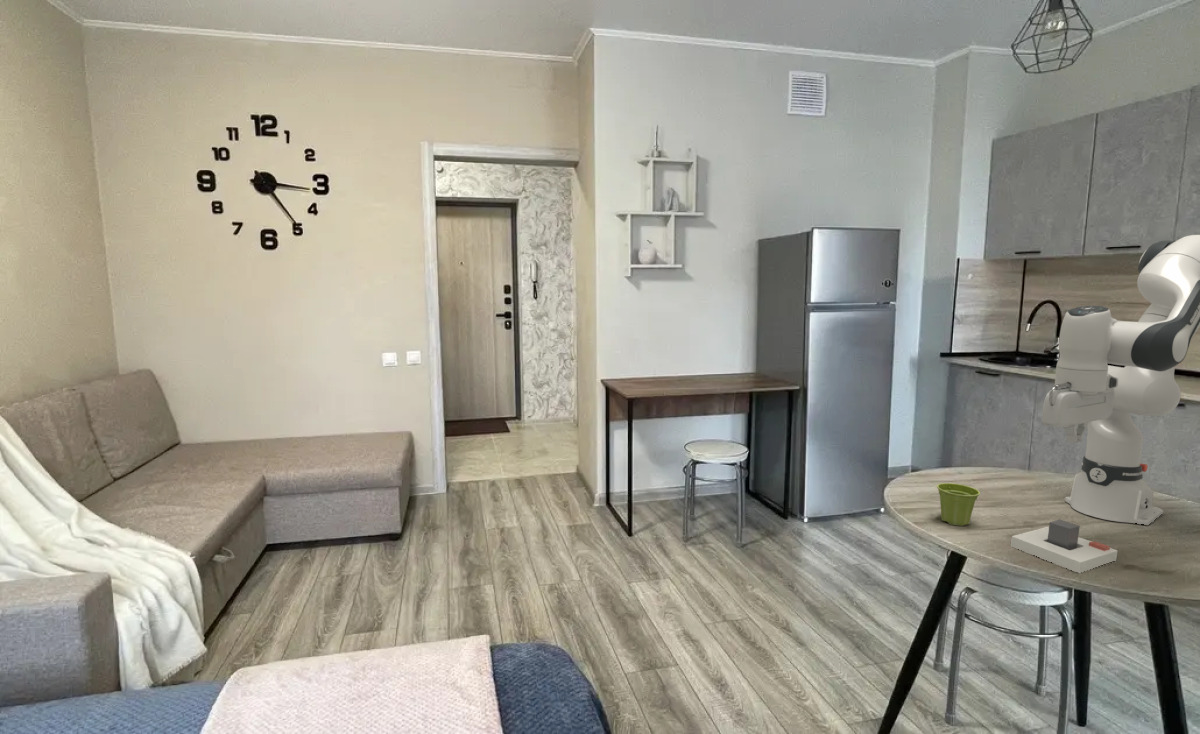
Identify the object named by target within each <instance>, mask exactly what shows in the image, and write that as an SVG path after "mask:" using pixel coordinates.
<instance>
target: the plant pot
mask: <svg viewBox="0 0 1200 734" xmlns="http://www.w3.org/2000/svg"><path fill="white" fill-rule="evenodd" d="M936 488H937V489H938V494H939V499H940V500H939V502H940V516H941V517H940V518H941V519H940V520H942V521H943V522H947V523H948V524H949V525H955V526H959V527H960V526H961V527H963V526H966V525H967V526H968V525H969V524H970V521H971V517H972V514H973V510H974V506H975V503H976V501H977V498H978V497H979V496H980V494H981V491H979V489H977V488H974V487H971V486H969V485H965V484H961V483H954V482H944V483H943V482H942V483H938V484H937V485H936Z"/></svg>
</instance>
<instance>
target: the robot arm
mask: <svg viewBox="0 0 1200 734" xmlns="http://www.w3.org/2000/svg"><path fill="white" fill-rule="evenodd" d="M1137 271H1138V273H1139V274H1138V277H1137V281H1136V284H1137V289H1138V291H1139V293H1140V295H1141V296H1142V297H1143V298H1144V299H1145V300H1146V301H1147V302H1149V303H1150V305H1149V306H1148V307H1147V308H1146V309H1145V311H1144V312H1143V314H1142V315H1141V317H1140V318H1139V319H1138V321H1128V320H1127V321H1126V320H1125V321H1124V320H1117V319H1116V318H1114V317H1112V314H1111V313H1112V312H1111V310H1110V308H1108V307H1106V306H1101V305H1086V306H1085V305H1084V306H1078V307H1076V306H1075V307H1074V308H1073V307H1072V308H1070V309H1068V310H1067V311H1066V312H1065V314H1064V316H1063V318H1062V319H1063V320H1062V323H1061V326H1060V330H1059V338H1058V351H1059V358H1058V360H1057V363H1056V367H1055V377H1054V384H1053V387H1052V388H1051V390H1049V391H1048V392H1047V393H1046V396H1045V398H1044V402H1043V405H1042V406H1043V407H1042V411H1041V419H1040V420H1041V423H1042V425H1043V426H1045V427H1051V428H1054V429H1055V428H1057V429H1061V428H1063V429H1064V432H1065V442H1066V443H1069V444H1077V443H1081V442H1083V440H1084V439H1083V438H1084V434H1085V432H1086V431H1087V438H1086V439H1087V440H1086V447H1085V455H1084V456H1083V457H1082V460H1081V472H1078V473H1075V475H1074V479H1073V485H1072V489H1071V491H1070V492H1071V493H1070V496H1065V498H1064V502H1066V503H1067V504H1069V505H1070V507H1071V508H1072V509H1073V510H1075V511H1077V512H1078V513H1081V514H1084V515H1087V516H1090V517H1094V518H1097V519H1102V520H1105V521H1112V522H1119V523H1130V524H1135V523H1137V525H1141V524H1144V525H1143V526H1150V525H1151V524H1152V523H1153V522H1155V521H1156V520H1157V519H1158V518H1160V517H1161V516H1162V515H1163V514H1164V510H1163V509H1162V508H1160V507H1157V506H1155V505H1153V500H1154V491H1153V489H1152V488H1151V487H1149V485H1148V484H1147V483H1146V482H1145V481H1144V480H1143V476H1144V475H1143V474H1144V472H1146V471H1147V470H1148V464H1146V463H1141V460H1142V455H1143V454H1142V453H1143V447H1144V435H1143V433H1142V432H1141V430H1140V429H1139V428H1138V427H1137V426H1136V425H1135V423H1134V421H1133V418H1132V417H1131V414H1133V415H1137V416H1151V417H1154V416H1155V417H1159V416H1160V417H1161V416H1165V415H1167V414H1170V413H1171V412H1173V411H1174V410H1175V409H1176V408H1177V406H1178V405H1179V403H1180V400H1181V395H1182V393H1181V389H1180V386H1179V384H1178V383H1177V381H1176V379H1175V370H1176V366H1178V365H1179V364H1180V363H1182V362H1183V361H1184V359H1185V358H1186V356H1187V353H1188V350H1189V347H1190V343H1191V340H1192V339H1193V337H1194V336H1195V334H1196V333H1197V331H1198V330H1199V329H1200V234H1191V235H1186V236H1183V237H1181V238H1179V239H1177V240H1168V239H1167V240H1159V241H1157V242H1156V241H1155V242H1154V243H1151V245H1149V246H1148V248H1147V249H1145V250H1144V252H1143V253H1142V255H1141V256H1140V259H1139V262H1138V267H1137ZM1108 364H1109V365H1108ZM1110 364H1111V365H1110ZM1114 365H1115V366H1114ZM1121 366H1122V367H1121ZM1123 366H1124V367H1123ZM1162 513H1163V514H1162ZM1161 514H1162V515H1161ZM1160 515H1161V516H1160ZM1159 516H1160V517H1159ZM1157 517H1158V518H1157ZM1156 518H1157V519H1156ZM1155 519H1156V520H1155ZM1154 520H1155V521H1154ZM1151 522H1152V523H1151ZM1150 523H1151V524H1150ZM1149 524H1150V525H1149Z"/></svg>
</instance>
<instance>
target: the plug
mask: <svg viewBox="0 0 1200 734" xmlns="http://www.w3.org/2000/svg"><path fill="white" fill-rule="evenodd" d="M1048 527H1049V532H1048V540H1047V542H1048V543H1051V544H1054V545H1056V546H1059V547H1062V548H1065V549H1067V550H1073V549H1076V548H1077V543H1078V537H1079V535H1080V527H1081V526H1080V525H1078V524H1075V523H1073V522H1069V521H1066V520H1063V519H1060V518H1059V519H1057V520H1052V521H1050V522H1049V524H1048Z"/></svg>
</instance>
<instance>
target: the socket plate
mask: <svg viewBox="0 0 1200 734" xmlns="http://www.w3.org/2000/svg"><path fill="white" fill-rule="evenodd" d="M1048 532H1049V526H1045V527H1042V528H1041V527H1040V528H1038V529H1034V530H1031V531H1030V530H1029V531H1027V532H1023V533H1019V534H1014V535H1012V536H1011V540H1010V547H1011V548H1013V549H1016V550H1018V549H1019V550H1018V551H1021V550H1022V551H1021V552H1023V551H1024V552H1023V553H1026V554H1028V553H1029V555H1031V554H1032V555H1031V556H1033V555H1035V556H1034V557H1036V556H1037V558H1038V557H1040V558H1039V559H1041V558H1042V559H1041V560H1043V559H1044V561H1046V560H1047V562H1048V563H1051V562H1052V563H1051V564H1054V565H1057V566H1059V567H1061V566H1062V568H1063V569H1066V568H1067V569H1066V570H1070V571H1071V570H1072V572H1074V573H1076V572H1078V573H1077V574H1081V572H1082V573H1085V572H1088V571H1091V570H1094V569H1096V568H1095V567H1097V568H1099V567H1098V566H1100V565H1103V564H1106V563H1109V562H1112V561H1115V562H1117V559H1118V558H1117V557H1118V550H1117V549H1114V548H1111V547H1110V546H1111V545H1110V546H1109V545H1107V544H1103V543H1101V542H1098V541H1097V540H1096V541H1095V540H1093V541H1091V540H1088V539H1085V538H1083V537H1079V536H1078V543H1077V548H1076V549H1073V550H1067V549H1065V548H1062V547H1059V546H1056V545H1054V544H1051V543H1048V542H1047V540H1048ZM1112 563H1113V562H1112ZM1109 564H1110V563H1109ZM1106 565H1107V564H1106ZM1103 566H1104V565H1103ZM1100 567H1101V566H1100ZM1093 568H1094V569H1093ZM1090 569H1091V570H1090ZM1087 570H1088V571H1087ZM1084 571H1085V572H1084Z"/></svg>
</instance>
